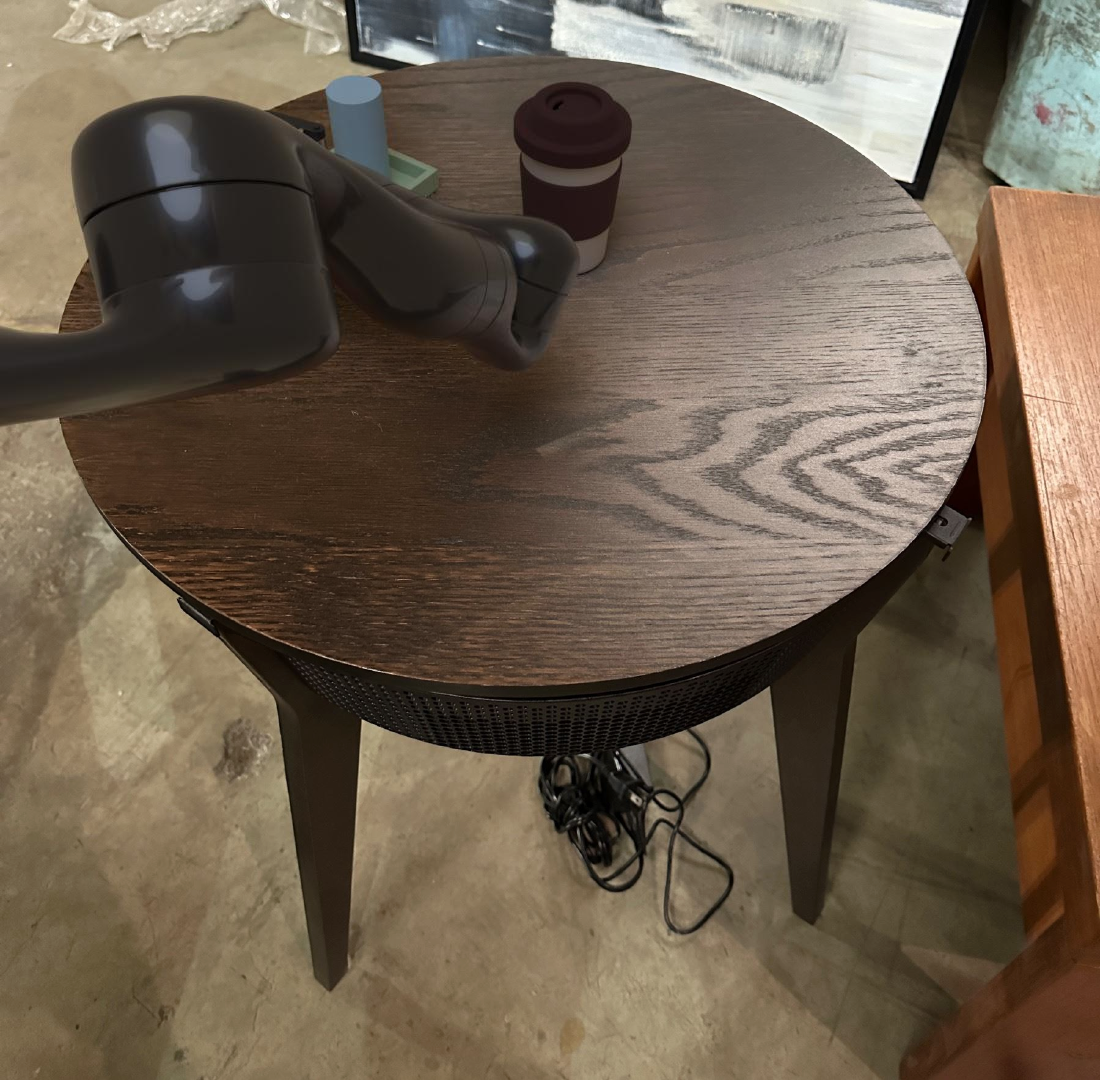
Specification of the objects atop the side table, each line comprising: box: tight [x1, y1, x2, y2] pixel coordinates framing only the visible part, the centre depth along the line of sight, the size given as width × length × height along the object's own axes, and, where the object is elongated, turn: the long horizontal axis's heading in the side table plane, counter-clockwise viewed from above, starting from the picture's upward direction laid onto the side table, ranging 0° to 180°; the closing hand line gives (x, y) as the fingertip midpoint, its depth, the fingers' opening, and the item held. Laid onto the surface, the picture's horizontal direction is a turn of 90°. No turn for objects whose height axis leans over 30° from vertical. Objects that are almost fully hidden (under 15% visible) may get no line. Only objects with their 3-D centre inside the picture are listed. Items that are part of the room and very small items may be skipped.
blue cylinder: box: [325, 74, 391, 180], centre depth 97 cm, size 5×5×10 cm
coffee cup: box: [513, 81, 633, 275], centre depth 90 cm, size 10×10×15 cm
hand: (176, 136), depth 82 cm, fingers closed on supplement bottle, 5 cm apart
